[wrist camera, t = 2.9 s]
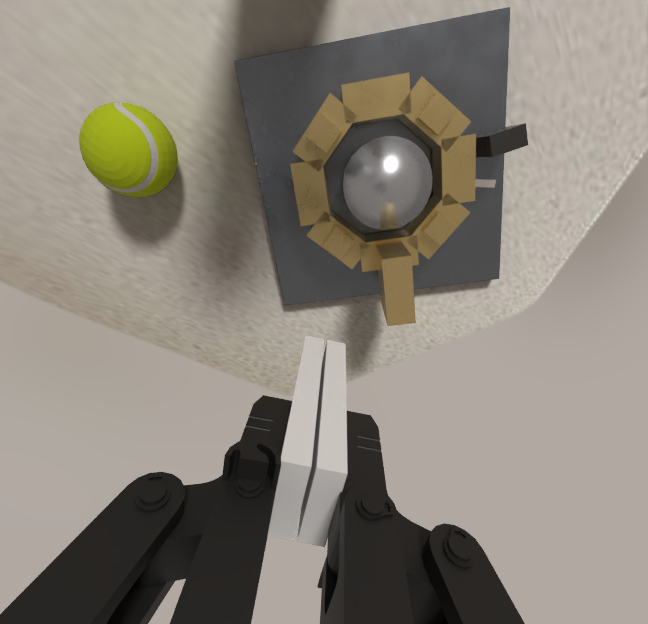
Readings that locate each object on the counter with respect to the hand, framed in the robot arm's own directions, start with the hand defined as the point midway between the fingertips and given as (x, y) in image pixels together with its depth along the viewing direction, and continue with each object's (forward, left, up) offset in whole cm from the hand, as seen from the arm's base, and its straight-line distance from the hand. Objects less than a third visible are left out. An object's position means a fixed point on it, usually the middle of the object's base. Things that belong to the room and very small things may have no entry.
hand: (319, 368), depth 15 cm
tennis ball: (-14, +11, -21) cm, 27 cm away
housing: (+5, +6, -20) cm, 22 cm away
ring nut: (+5, +4, -19) cm, 20 cm away
